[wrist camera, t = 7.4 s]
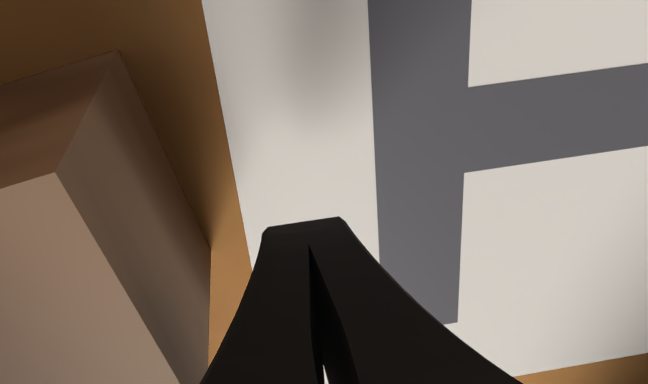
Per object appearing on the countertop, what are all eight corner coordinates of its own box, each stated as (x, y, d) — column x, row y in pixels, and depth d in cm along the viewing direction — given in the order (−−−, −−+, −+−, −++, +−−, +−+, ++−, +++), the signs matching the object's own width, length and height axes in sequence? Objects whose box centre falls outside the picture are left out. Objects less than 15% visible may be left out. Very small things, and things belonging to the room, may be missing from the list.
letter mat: (1123, -412, 10) (1158, -422, 9) (799, 314, 18) (811, 324, 17) (140, -339, 8) (135, -347, 8) (278, 405, 17) (280, 418, 16)
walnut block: (118, 48, 11) (55, 171, 7) (210, 248, 14) (206, 428, 9) (-132, 124, 11) (-350, 295, 7) (7, 310, 14) (-88, 517, 10)
